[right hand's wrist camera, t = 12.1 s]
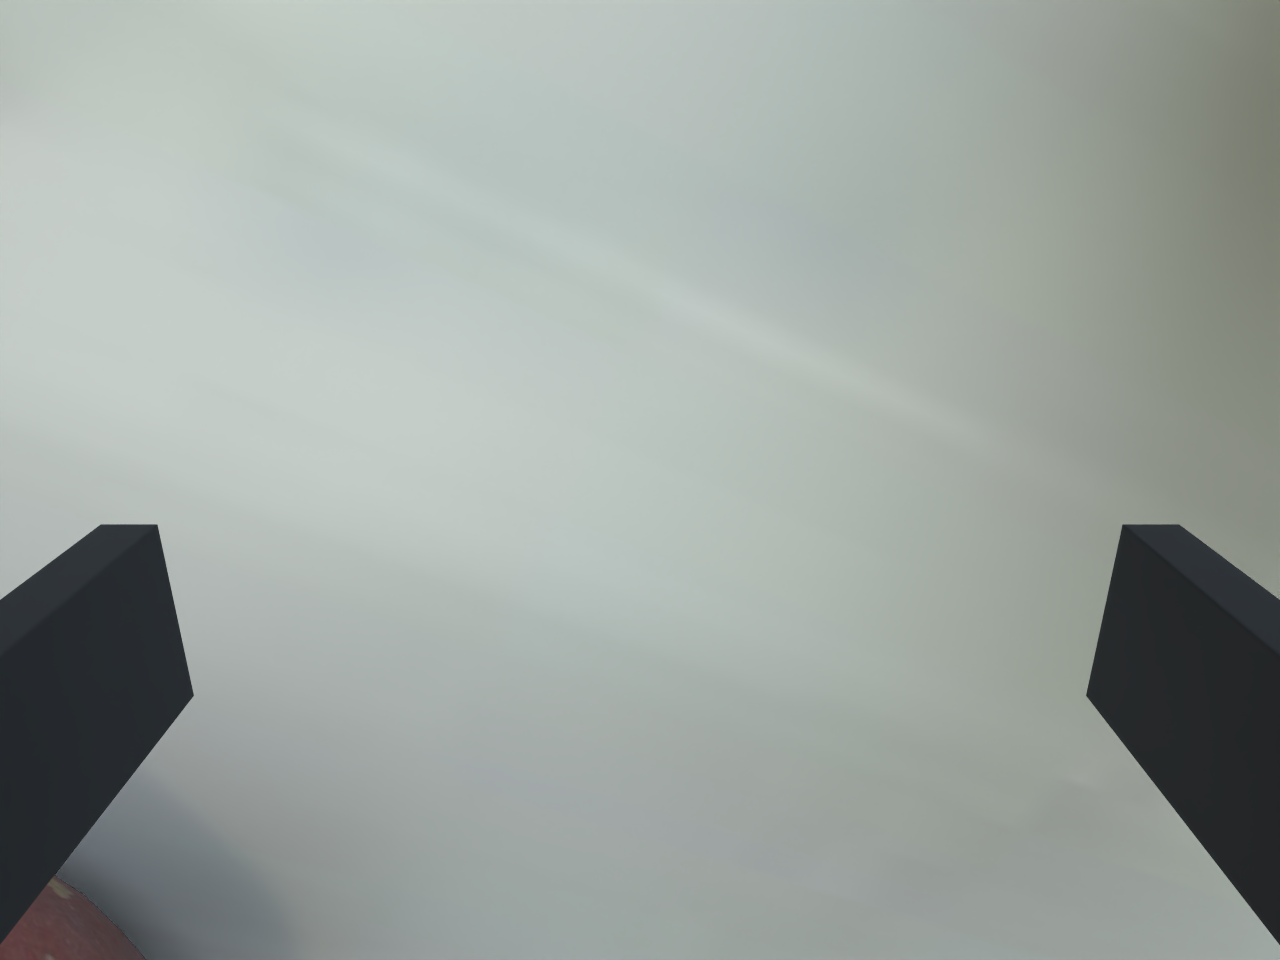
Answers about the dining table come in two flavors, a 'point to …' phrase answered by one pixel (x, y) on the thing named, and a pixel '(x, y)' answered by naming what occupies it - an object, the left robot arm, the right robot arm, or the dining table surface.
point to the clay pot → (66, 930)
